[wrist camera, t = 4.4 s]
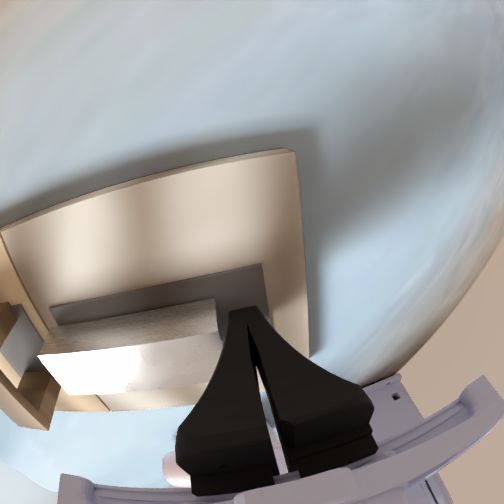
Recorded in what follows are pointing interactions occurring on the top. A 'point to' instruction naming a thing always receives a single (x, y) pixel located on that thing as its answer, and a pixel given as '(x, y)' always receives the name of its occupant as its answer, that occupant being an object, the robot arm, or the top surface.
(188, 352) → the brushed metal block
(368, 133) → the top surface
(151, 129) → the top surface
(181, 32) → the top surface
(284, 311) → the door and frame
